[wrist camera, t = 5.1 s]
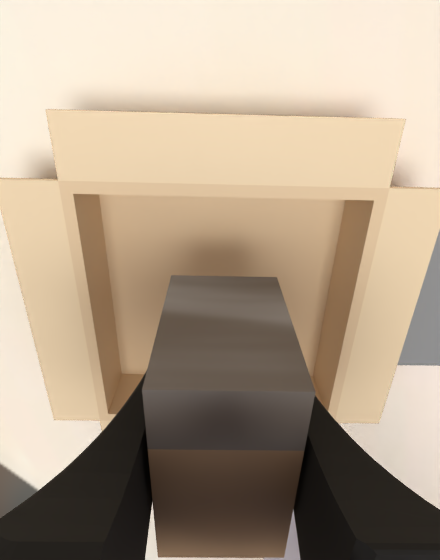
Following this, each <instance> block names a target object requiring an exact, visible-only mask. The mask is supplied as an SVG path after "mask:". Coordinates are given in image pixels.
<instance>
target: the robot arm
mask: <svg viewBox="0 0 440 560" xmlns="http://www.w3.org/2000/svg"><path fill="white" fill-rule="evenodd" d="M146 372H147V371H146ZM146 372H145V374H144V376H143V377H142V379H141V381H140V382H139V384H138V385H137V387H136V388H135V390H134V391H133V393H132V394H131V396H130V397H129V398H128V400H127V401H126V403H125V404H124V405H123V407H122V408H121V409H120V411H119V412H118V413H117V414H116V416H115V417H114V418H113V419H112V420H111V422H110V423H109V424H108V425H107V427H106V428H105V429H104V430H103V431H102V432H101V433H100V435H99V436H98V437H97V438H96V439H95V440H94V441H93V442H92V443H91V444H90V445H89V446H88V447H87V448H86V449H85V450H84V451H83V452H82V453H81V454H80V455H79V456H78V457H77V458H76V459H75V460H74V461H73V462H72V463H71V464H70V465H68V466H67V467H66V468H65V469H64V470H63V471H62V472H61V473H59V474H58V475H57V476H56V477H55V478H53V479H52V480H51V481H50V482H48V483H47V484H46V485H45V486H44V487H42V488H41V489H40V490H39V491H38V492H36V493H35V494H34V495H32V496H31V497H30V498H28V499H27V500H26V501H24V502H23V503H21V504H20V505H19V506H17V507H16V508H14V509H13V510H12V511H10V512H9V513H7V514H6V515H5V516H3V517H2V518H0V560H145V553H146V545H147V537H148V529H149V522H150V514H151V506H152V501H153V499H152V489H151V479H150V468H149V458H148V447H147V437H146V426H145V416H144V406H143V395H142V388H143V384H144V380H145V376H146ZM264 560H440V510H439V509H438V508H436V507H435V506H433V505H432V504H430V503H429V502H427V501H426V500H424V499H423V498H422V497H420V496H419V495H417V494H416V493H415V492H413V491H412V490H411V489H409V488H408V487H407V486H405V485H404V484H403V483H401V482H400V481H399V480H398V479H396V478H395V477H394V476H393V475H391V474H390V473H389V472H388V471H387V470H386V469H384V468H383V467H382V466H381V465H380V464H378V463H377V462H376V461H375V460H374V459H373V458H372V457H370V456H369V455H368V454H367V453H366V452H365V451H364V450H363V449H362V448H361V447H360V446H359V445H358V444H357V443H356V442H355V441H354V440H353V439H352V438H351V437H350V436H349V435H348V434H347V433H346V432H345V431H344V429H343V428H342V427H341V426H340V425H339V424H338V423H337V422H336V420H335V419H334V418H333V417H332V416H331V415H330V413H329V412H328V411H327V410H326V408H325V407H324V406H323V405H322V403H321V402H320V401H319V399H318V398H317V397H316V396H315V397H314V403H313V408H312V413H311V418H310V424H309V429H308V434H307V440H306V445H305V450H304V455H303V461H302V466H301V471H300V476H299V482H298V487H297V492H296V497H295V503H294V508H293V513H292V518H291V524H290V529H289V534H288V539H287V545H286V550H285V555H284V558H264Z"/></svg>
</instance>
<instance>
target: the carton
mask: <svg viewBox="0 0 440 560" xmlns="http://www.w3.org/2000/svg"><path fill="white" fill-rule="evenodd" d="M46 115H47V121H48V126H49V132H50V138H51V144H52V149H53V155H54V161H55V166H56V172H57V178H58V179H35V178H0V209H1V213H2V217H3V221H4V225H5V229H6V233H7V237H8V241H9V245H10V249H11V253H12V257H13V260H14V264H15V268H16V272H17V276H18V280H19V284H20V288H21V292H22V296H23V300H24V304H25V308H26V312H27V316H28V319H29V323H30V327H31V331H32V335H33V339H34V343H35V347H36V351H37V355H38V359H39V363H40V367H41V371H42V374H43V378H44V382H45V386H46V390H47V394H48V398H49V402H50V406H51V410H52V414H53V418H54V420H92V421H100V424H101V430H102V431H103V430H104V429H105V428H106V427H107V425H108V424H109V423H110V422H111V420H112V419H113V418H114V417H115V416H116V414H117V413H118V412H119V411H120V409H121V408H122V407H123V405H124V404H125V403H126V401H127V400H128V398H129V397H130V396H131V394H132V393H133V391H134V390H135V388H136V387H137V385H138V384H139V382H140V381H141V379H142V377H143V376H144V374H145V372H146V371H147V368H148V364H149V360H150V356H151V353H152V349H153V345H154V341H155V337H156V333H157V329H158V325H159V321H160V317H161V313H162V309H163V305H164V302H165V298H166V294H167V290H168V286H169V282H170V278H171V275H189V276H244V277H277V279H278V282H279V285H280V288H281V291H282V294H283V297H284V300H285V303H286V306H287V309H288V312H289V315H290V318H291V321H292V324H293V326H294V329H295V332H296V335H297V338H298V341H299V344H300V347H301V350H302V353H303V356H304V359H305V362H306V365H307V368H308V371H309V374H310V377H311V380H312V383H313V386H314V389H315V396H316V397H317V398H318V399H319V401H320V402H321V403H322V405H323V406H324V407H325V408H326V410H327V411H328V412H329V413H330V415H331V416H332V417H333V418H334V419H335V420H336V422H337V423H379V422H380V418H381V415H382V412H383V409H384V406H385V403H386V399H387V396H388V393H389V390H390V387H391V383H392V380H393V377H394V374H395V371H396V367H397V364H398V361H399V358H400V355H401V351H402V348H403V345H404V342H405V339H406V335H407V332H408V329H409V326H410V323H411V319H412V316H413V313H414V310H415V307H416V303H417V300H418V297H419V294H420V291H421V287H422V284H423V281H424V278H425V275H426V271H427V268H428V265H429V262H430V259H431V255H432V252H433V249H434V246H435V243H436V239H437V236H438V233H439V230H440V188H426V187H390V185H391V180H392V176H393V172H394V168H395V163H396V159H397V155H398V150H399V146H400V142H401V138H402V133H403V129H404V125H405V121H406V119H395V118H357V117H320V116H282V115H245V114H208V113H170V112H133V111H95V110H58V109H46Z"/></svg>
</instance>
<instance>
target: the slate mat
mask: <svg viewBox="0 0 440 560" xmlns="http://www.w3.org/2000/svg"><path fill="white" fill-rule="evenodd" d="M397 365H438V366H440V230H439V233H438V236H437V239H436V243H435V246H434V249H433V252H432V255H431V259H430V262H429V265H428V268H427V271H426V275H425V278H424V281H423V284H422V287H421V291H420V294H419V297H418V300H417V303H416V307H415V310H414V313H413V316H412V319H411V323H410V326H409V329H408V332H407V335H406V339H405V342H404V345H403V348H402V351H401V355H400V358H399V361H398V364H397Z"/></svg>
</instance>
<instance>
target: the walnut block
mask: <svg viewBox="0 0 440 560" xmlns="http://www.w3.org/2000/svg"><path fill="white" fill-rule="evenodd" d="M142 395H143V406H144V416H145V426H146V437H147V447H148V458H149V468H150V479H151V489H152V499H153V510H154V520H155V531H156V541H157V552H158V557H236V558H284V555H285V550H286V545H287V539H288V534H289V529H290V524H291V518H292V513H293V508H294V503H295V497H296V492H297V487H298V482H299V476H300V471H301V466H302V461H303V455H304V450H305V445H306V440H307V434H308V429H309V424H310V418H311V413H312V408H313V403H314V397H315V389H314V386H313V383H312V380H311V377H310V374H309V371H308V368H307V365H306V362H305V359H304V356H303V353H302V350H301V347H300V344H299V341H298V338H297V335H296V332H295V329H294V326H293V324H292V321H291V318H290V315H289V312H288V309H287V306H286V303H285V300H284V297H283V294H282V291H281V288H280V285H279V282H278V279H277V277H244V276H189V275H171V278H170V282H169V286H168V290H167V294H166V298H165V302H164V305H163V309H162V313H161V317H160V321H159V325H158V329H157V333H156V337H155V341H154V345H153V349H152V353H151V356H150V360H149V364H148V368H147V372H146V376H145V380H144V384H143V388H142Z"/></svg>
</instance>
